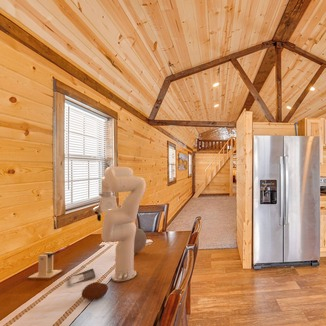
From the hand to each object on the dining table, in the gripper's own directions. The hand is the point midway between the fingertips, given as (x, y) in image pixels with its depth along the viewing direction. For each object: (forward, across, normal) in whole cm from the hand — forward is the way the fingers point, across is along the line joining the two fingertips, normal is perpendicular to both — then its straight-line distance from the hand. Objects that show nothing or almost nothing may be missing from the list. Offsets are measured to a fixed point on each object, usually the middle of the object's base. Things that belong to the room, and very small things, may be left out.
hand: (107, 219), depth 158 cm
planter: (+28, +16, -2) cm, 32 cm away
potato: (+28, -20, -47) cm, 58 cm away
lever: (+16, -28, -3) cm, 33 cm away
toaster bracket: (+28, -32, 0) cm, 42 cm away
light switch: (+28, -19, -20) cm, 39 cm away
